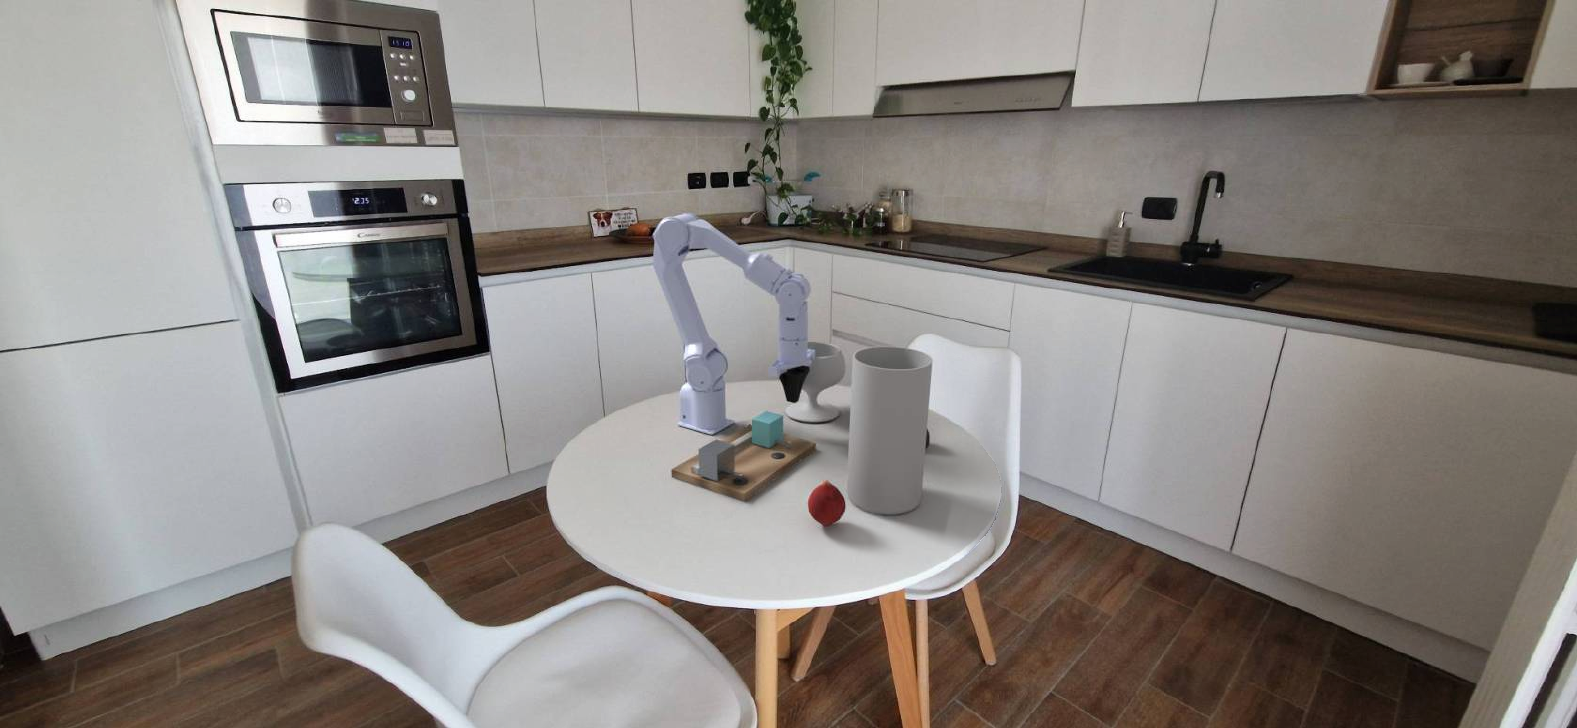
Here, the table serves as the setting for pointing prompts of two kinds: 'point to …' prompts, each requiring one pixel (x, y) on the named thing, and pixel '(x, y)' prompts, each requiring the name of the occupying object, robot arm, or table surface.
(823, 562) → the table surface
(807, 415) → the chalice
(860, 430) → the cylinder vase
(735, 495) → the board
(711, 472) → the fixed leg
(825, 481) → the onion
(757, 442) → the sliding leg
